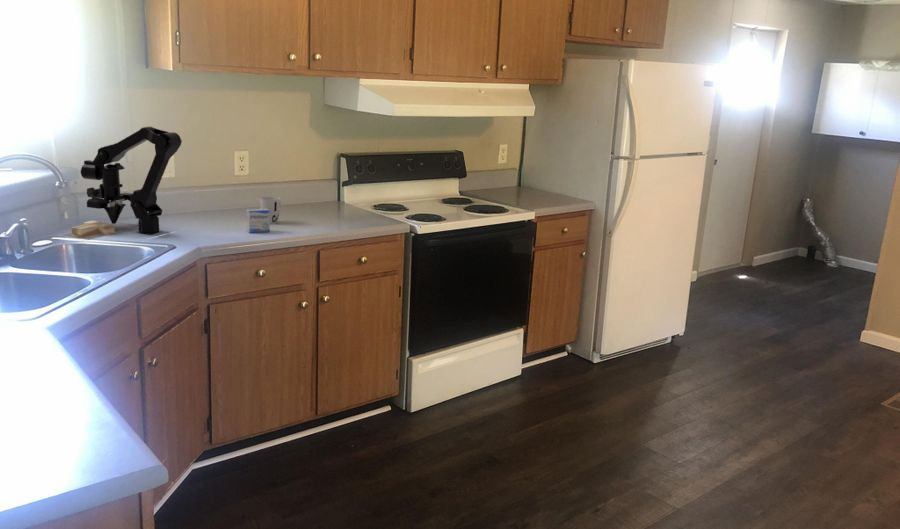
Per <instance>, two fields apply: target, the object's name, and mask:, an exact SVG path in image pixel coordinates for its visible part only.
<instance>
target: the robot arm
mask: <svg viewBox="0 0 900 529" xmlns="http://www.w3.org/2000/svg"><path fill="white" fill-rule="evenodd" d="M147 141H148V142H149V143H151V144H153V145H154V150H155V151H154V152H155V155H154V158H153V161H152V162H151V165H150V168H149V170H148V172H147V175H146V178H145V180H144V181H143V182H144V183H143V185H142V188H141V189H136V190H133V192H132V193H131V192H130V193H129V192H121V188H123V183H121V182H120V181H121V180H120V178H121V177H120V170H121V171H123V170H124V169H125V167H124V166H123V165H122V164H121V163H120V162H119V161H121V160H122V159H123V158H124V157H125V155H126V154H127V153H128V152H129V151H131V150H133V149H134V148H137V147H138V146H140V145H141V144H143V143H145V142H147ZM182 141H183V140H182V139H181V136H180V134H178V133H177V132H174V131H173V132H170V131H166V130H163V129H158V128H155V127H153V126H143V127H141V128H140V129H139V130H137V131H136V132H133V133H132V134H130V135H128V136H126V137H125V138H123V139H122V140H120V141H118V142H116V143H113V144H109V145H108V144H107V145H105V146H102V147H100V148H97V153H96V156H95V157H94V159H93V160H89V159H87V160H84V161H83V165H82V166H81V168H80V175H81V177H82V178H83V179H84V180H92V181H93V180H94V181H101V182H102V183H100V184H99V185H98V186H99V188H94V187H89V188H86V195H87V197H88V198H89V199H87V200H86V208H91V209H104V210H105V212H106V214H107V216H108V218H109V219H110V222H111V224H115V223H116V222H118V220H119V217H120V215H121V213H122V211H123V210H124V208H125V207H126V206H127V204H126V203H124V202H125V201H129V202H130V207H131V210H132V211H133V215H134V217H135V219H138V220H137V221H138V224H137V225H139V227H138V231H137V232H136V234H141V235H148V236H149V235H150V236H151V235H156V234H159V233H162V232H163V231H161V230H160V218H159V216H162V214H163V209H162V208H161V207H160V206H159V205H158V204H157V200H158V197H157V191H158V188H159V186H160V183H161V181H162V178H163V176H164V173H165V171H166V170H167V167H168V164H169V161H170V159H171V158H172V157H173V156H174V155H175V154H176V153H177V152H178V151H179V149H180V147H181V145H182ZM112 163H114V164H112Z"/></svg>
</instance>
